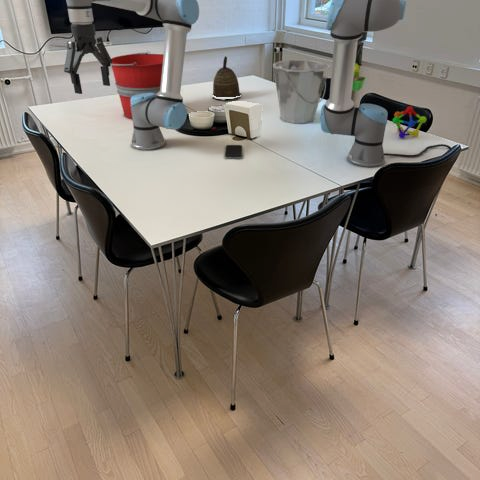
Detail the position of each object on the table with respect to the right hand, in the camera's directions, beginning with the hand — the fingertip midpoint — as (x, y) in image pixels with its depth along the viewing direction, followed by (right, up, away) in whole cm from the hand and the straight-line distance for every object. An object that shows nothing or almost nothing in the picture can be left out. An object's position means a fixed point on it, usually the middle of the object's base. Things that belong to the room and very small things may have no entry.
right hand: (352, 81), depth 214 cm
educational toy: (+27, -26, +4) cm, 38 cm away
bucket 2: (-23, -10, +29) cm, 38 cm away
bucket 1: (-107, -5, +36) cm, 113 cm away
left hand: (-107, -23, -57) cm, 123 cm away
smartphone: (-57, -37, -15) cm, 70 cm away
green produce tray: (0, -3, +2) cm, 3 cm away
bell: (-63, +14, +67) cm, 93 cm away
